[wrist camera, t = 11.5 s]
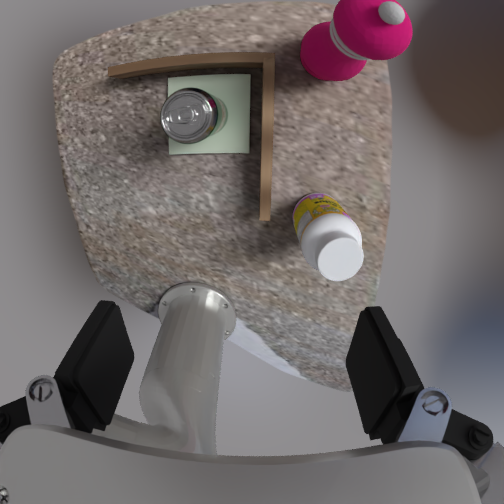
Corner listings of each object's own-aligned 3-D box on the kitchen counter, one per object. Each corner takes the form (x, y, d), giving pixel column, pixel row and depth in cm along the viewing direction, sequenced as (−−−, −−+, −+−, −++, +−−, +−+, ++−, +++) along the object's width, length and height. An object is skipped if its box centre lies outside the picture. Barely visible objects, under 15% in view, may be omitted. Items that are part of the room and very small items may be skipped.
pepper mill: (342, 29, 27) (420, -30, 9) (359, 79, 30) (455, 60, 12) (288, 37, 28) (325, -35, 10) (305, 89, 31) (365, 64, 13)
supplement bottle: (348, 204, 37) (386, 246, 26) (324, 245, 40) (349, 298, 29) (305, 182, 36) (330, 216, 25) (282, 225, 39) (294, 276, 27)
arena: (268, 210, 38) (269, 220, 34) (129, 210, 38) (117, 220, 34) (272, 59, 29) (275, 53, 26) (121, 70, 29) (108, 67, 25)
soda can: (228, 134, 33) (217, 144, 22) (187, 136, 33) (157, 147, 22) (228, 94, 31) (216, 84, 20) (186, 96, 31) (155, 89, 20)
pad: (249, 152, 35) (249, 153, 34) (170, 154, 35) (169, 154, 34) (250, 74, 30) (250, 74, 30) (169, 78, 30) (168, 78, 30)
